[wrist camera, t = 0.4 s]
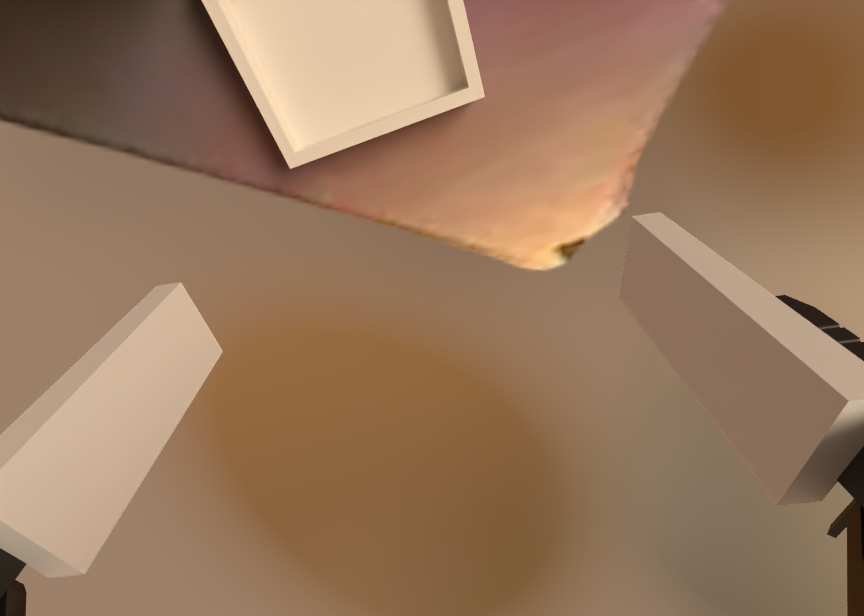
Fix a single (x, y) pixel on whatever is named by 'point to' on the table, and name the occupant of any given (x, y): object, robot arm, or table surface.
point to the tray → (348, 66)
